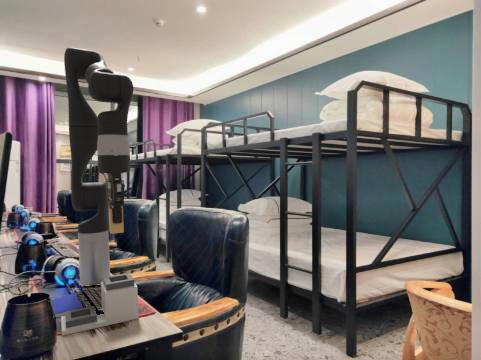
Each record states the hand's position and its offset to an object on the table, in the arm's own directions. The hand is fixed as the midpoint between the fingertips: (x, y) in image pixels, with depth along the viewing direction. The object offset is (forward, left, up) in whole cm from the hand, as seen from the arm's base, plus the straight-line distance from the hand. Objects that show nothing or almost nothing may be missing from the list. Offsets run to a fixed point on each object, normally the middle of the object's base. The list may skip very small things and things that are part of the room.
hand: (116, 221), depth 87 cm
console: (0, -5, -24) cm, 25 cm away
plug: (0, 0, -3) cm, 3 cm away
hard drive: (-14, -12, -25) cm, 31 cm away
